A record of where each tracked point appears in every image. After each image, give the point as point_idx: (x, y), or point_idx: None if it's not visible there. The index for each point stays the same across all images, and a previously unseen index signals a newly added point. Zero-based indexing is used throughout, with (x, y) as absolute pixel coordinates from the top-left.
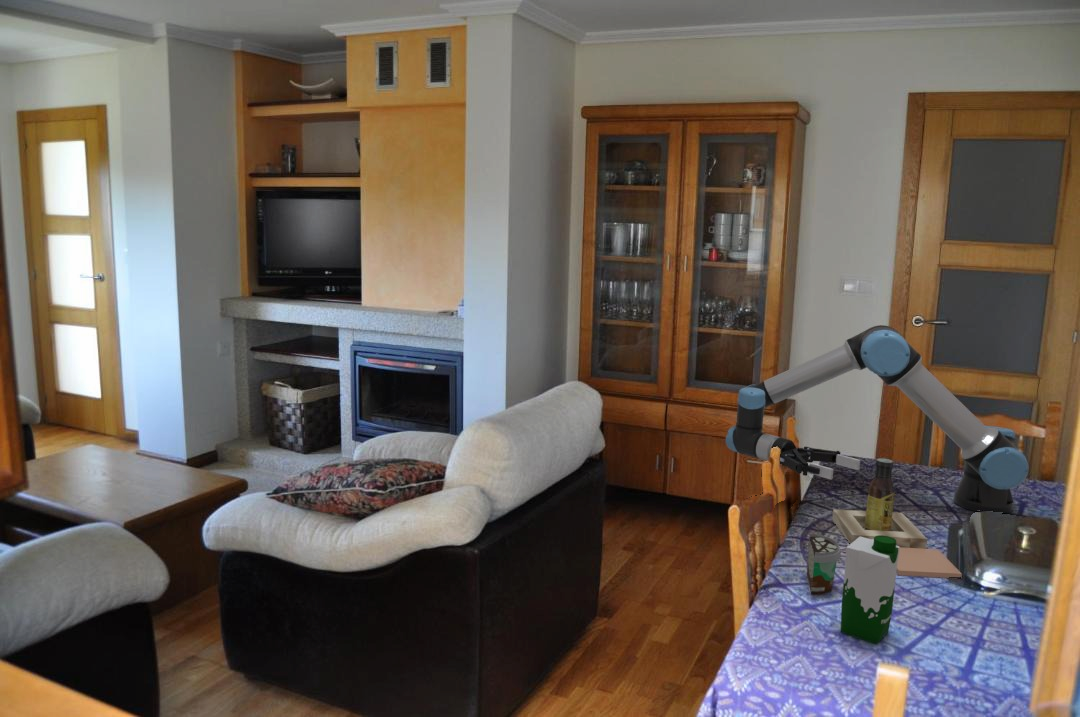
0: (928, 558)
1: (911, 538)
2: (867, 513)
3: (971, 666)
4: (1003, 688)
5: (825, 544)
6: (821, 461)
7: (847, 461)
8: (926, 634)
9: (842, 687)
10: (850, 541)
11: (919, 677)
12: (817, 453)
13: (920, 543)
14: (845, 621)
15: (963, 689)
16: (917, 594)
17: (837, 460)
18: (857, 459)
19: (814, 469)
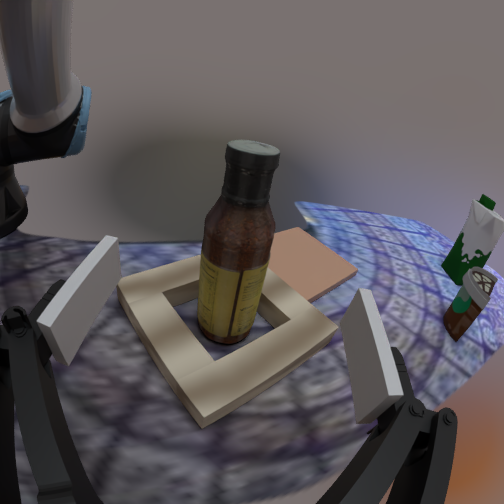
0: (286, 249)
1: None
2: (253, 305)
3: (417, 232)
4: (416, 223)
5: (478, 283)
6: (73, 444)
7: (92, 292)
8: (418, 249)
9: None
10: (325, 343)
11: (450, 249)
12: (65, 460)
13: None
14: None
15: (436, 235)
16: (374, 257)
17: (64, 345)
18: (100, 243)
19: (400, 364)
